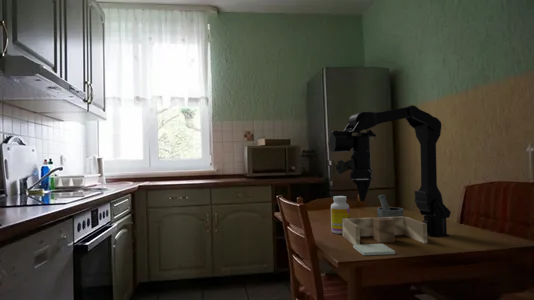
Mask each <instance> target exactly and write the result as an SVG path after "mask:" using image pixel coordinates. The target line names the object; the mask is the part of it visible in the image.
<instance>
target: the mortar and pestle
mask: <svg viewBox="0 0 534 300" xmlns="http://www.w3.org/2000/svg"><path fill="white" fill-rule="evenodd" d="M378 199H379V201H380V205H381V207H377V208H376V213H377V217H404V208H402V207H395V206H394V207H393V206H389V203H388V202H387V199H386V194H380V195H378Z"/></svg>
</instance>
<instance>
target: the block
mask: <svg viewBox="0 0 534 300" xmlns="http://www.w3.org/2000/svg"><path fill="white" fill-rule="evenodd" d="M372 218H373V233H374V236H373V240H374V241H376V242H378V244H382V243H395V241H396V240H395V239H396V235H395V230H394V220H393V219H391V218H388V217H381V218H377V217H372Z"/></svg>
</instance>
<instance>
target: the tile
mask: <svg viewBox="0 0 534 300" xmlns="http://www.w3.org/2000/svg"><path fill="white" fill-rule="evenodd" d="M352 247H353V248H354V249H355V250H356V251H357V252H359V253H360V254H361V255H363V256H380V255H381V256H382V255H396V250H394V249H392V248H391V247H389V246H387V245H386V244H384V243H365V244H360V245H354V244H352Z"/></svg>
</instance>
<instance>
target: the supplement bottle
mask: <svg viewBox="0 0 534 300" xmlns="http://www.w3.org/2000/svg"><path fill="white" fill-rule="evenodd" d="M332 198H333V203H331V204H330V222H331V223H330V226H331V227H330V229H331V230H330V231H331V232H332V233H333V234H338V235H341V234H342V235H343V225H342V219H350V218H351V215H350V205H349V204H348V203H347V196H346V195H345V196H344V195H337V196H336V195H335V196H333V197H332Z"/></svg>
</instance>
